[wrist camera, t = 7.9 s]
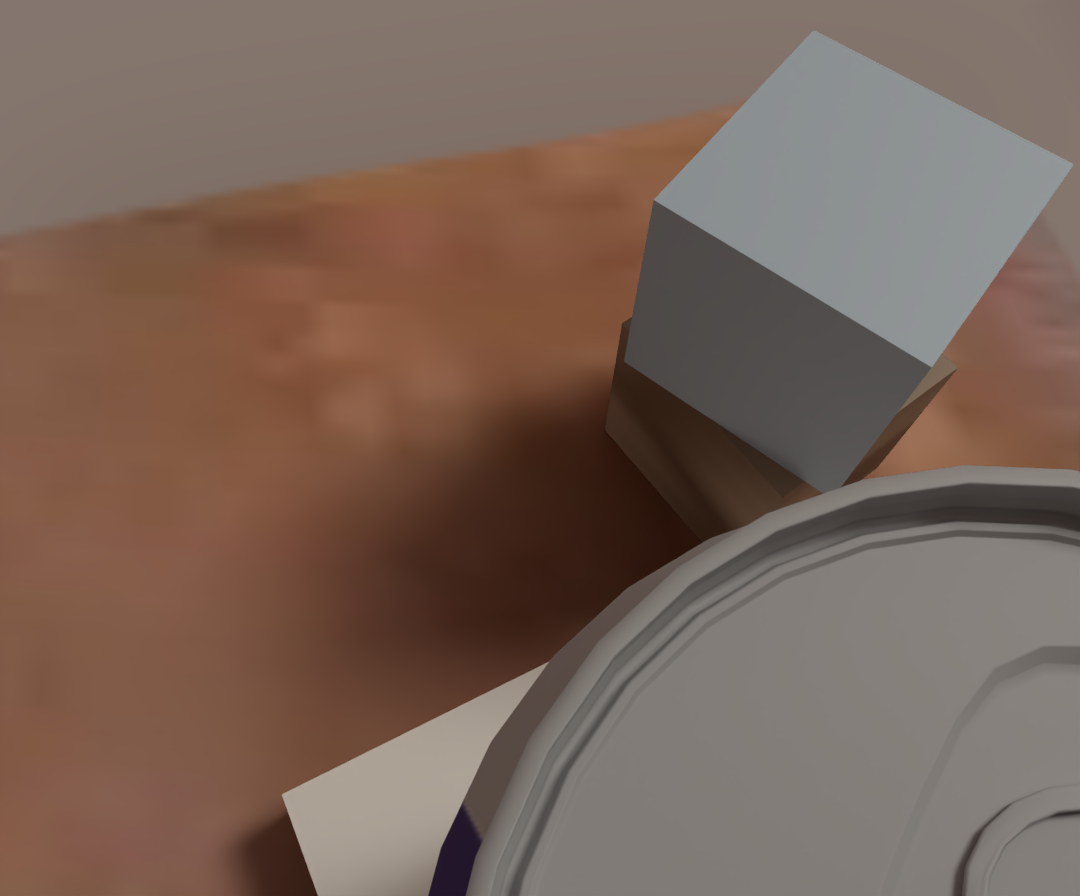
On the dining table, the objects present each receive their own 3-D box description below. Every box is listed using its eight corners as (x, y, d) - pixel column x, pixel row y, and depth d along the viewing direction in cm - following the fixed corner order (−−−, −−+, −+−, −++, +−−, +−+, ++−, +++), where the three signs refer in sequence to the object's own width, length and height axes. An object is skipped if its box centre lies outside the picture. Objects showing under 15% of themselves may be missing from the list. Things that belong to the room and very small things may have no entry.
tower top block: (950, 330, 16) (1074, 164, 12) (831, 499, 15) (931, 367, 11) (753, 214, 17) (814, 29, 13) (624, 361, 16) (653, 200, 12)
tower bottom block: (877, 467, 19) (957, 368, 16) (731, 577, 18) (782, 497, 15) (747, 334, 21) (793, 214, 17) (604, 429, 20) (622, 323, 16)
